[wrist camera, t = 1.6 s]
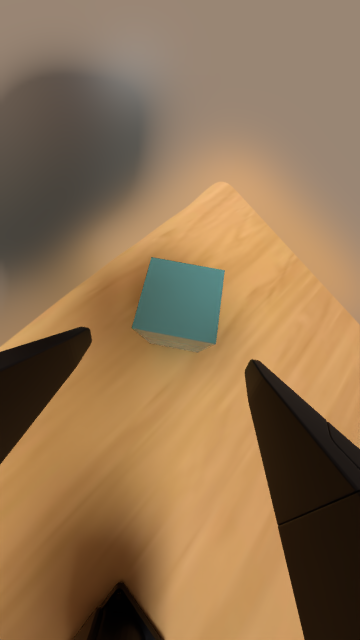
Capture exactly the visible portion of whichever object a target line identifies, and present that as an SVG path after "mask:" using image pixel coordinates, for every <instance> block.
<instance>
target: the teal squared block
mask: <svg viewBox="0 0 360 640" xmlns="http://www.w3.org/2000/svg"><path fill="white" fill-rule="evenodd" d="M224 272H225V270H219V269H214V268H208V267H203V266H197V265H192V264H186V263H181V262H175V261H170V260H164V259H159V258H153V257H151V261H150V265H149V268H148V272H147V275H146V279H145V282H144V286H143V290H142V293H141V297H140V300H139V304H138V307H137V311H136V315H135V318H134V322H133V325H132V329H133V330H134V331H136V332H137V333H138V334H139V335H141V336H142V337H143V338H144V339H146V340H147V341H148V342H149V343H151V344H156V345H161V346H166V347H172V348H177V349H182V350H187V351H192V352H200V351H202V350H204V349H207V348H209V347H211V346H213V345H215V344H216V338H217V330H218V322H219V313H220V305H221V297H222V289H223V280H224Z"/></svg>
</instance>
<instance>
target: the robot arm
mask: <svg viewBox="0 0 360 640" xmlns="http://www.w3.org/2000/svg"><path fill="white" fill-rule="evenodd" d="M91 342H92V339H91V332H90V329H89V328H86V327H79V328H75V329H72V330H69V331H66V332H63V333H59V334H56V335H53V336H50V337H47V338H43V339H40V340H37V341H34V342H31V343H27V344H24V345H21V346H18V347H15V348H11V349H8V350H5V351H2V352H0V464H1V463H2V462H3V460H4V459H5V458H6V457H7V455H8V454H9V453H10V451H11V450H12V449H13V448H14V446H15V445H16V444H17V442H18V441H19V440H20V439H21V437H22V436H23V435H24V433H25V432H26V431H27V430H28V428H29V427H30V426H31V425H32V423H33V422H34V421H35V419H36V418H37V417H38V416H39V414H40V413H41V412H42V410H43V409H44V408H45V407H46V405H47V404H48V403H49V401H50V400H51V399H52V398H53V396H54V395H55V394H56V392H57V391H58V390H59V389H60V387H61V386H62V385H63V383H64V382H65V381H66V380H67V378H68V377H69V376H70V375H71V373H72V372H73V371H74V369H75V368H76V367H77V365H78V364H79V362H80V360H81V359H82V357H83V356H84V354H85V352H86V351H87V349H88V348H89V346H90V344H91ZM245 380H246V388H247V396H248V402H249V407H250V411H251V415H252V419H253V423H254V428H255V432H256V436H257V440H258V445H259V449H260V453H261V457H262V461H263V466H264V470H265V474H266V478H267V482H268V487H269V491H270V495H271V499H272V504H273V508H274V512H275V516H276V520H277V524H278V529H279V534H280V538H281V542H282V546H283V550H284V555H285V559H286V563H287V567H288V572H289V576H290V580H291V584H292V588H293V593H294V597H295V601H296V605H297V609H298V614H299V618H300V622H301V626H302V630H303V635H304V639H305V640H360V449H359V448H358V447H357V446H355V445H354V444H353V443H352V442H351V441H350V440H348V439H347V438H346V437H345V436H344V435H343V434H341V433H340V432H339V431H338V430H337V429H336V428H335V427H334V426H332V425H331V424H330V423H329V422H327V421H326V419H324V418H323V417H322V416H321V415H320V414H319V413H318V412H317V411H315V410H314V409H313V408H312V407H311V406H310V405H309V404H308V403H306V402H305V401H304V400H303V399H302V398H301V397H300V396H299V395H297V394H296V393H295V392H294V391H293V390H292V389H291V388H290V387H288V386H287V385H286V384H285V383H284V382H283V381H282V380H280V379H279V378H278V377H277V376H276V375H275V374H274V373H273V372H271V371H270V370H269V369H268V368H267V367H266V366H265V365H264V364H262V363H261V362H260V361H258V360H253V359H252V360H250V362H249V363H248V365H247V367H246V369H245ZM118 592H120V593H121V594H119V593H118ZM74 640H161V638H160V637H159V635H158V634H157V632H156V631H155V629H154V628H153V626H152V625H151V623H150V622H149V620H148V619H147V618H146V616H145V615H144V613H143V612H142V610H141V609H140V607H139V606H138V604H137V603H136V601H135V600H134V598H133V597H132V595H131V594H130V592H129V591H128V589H127V588H126V586H125V585H124V584H123V583H121V582H120V583H118V584H117V585H116V586H115V588H114V589H113V590H112V592H111V593H110V594H109V596H108V597H107V598H106V600H105V601H104V602H103V604H102V605H101V606H99V607H97V608H96V609H95V611H94V612H93V613H92V615H91V616H90V617H89V619H88V620H87V621H86V623H85V624H84V625H83V627H82V628H81V629H80V631H79V632H78V633H77V635H76V636H75V638H74Z"/></svg>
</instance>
